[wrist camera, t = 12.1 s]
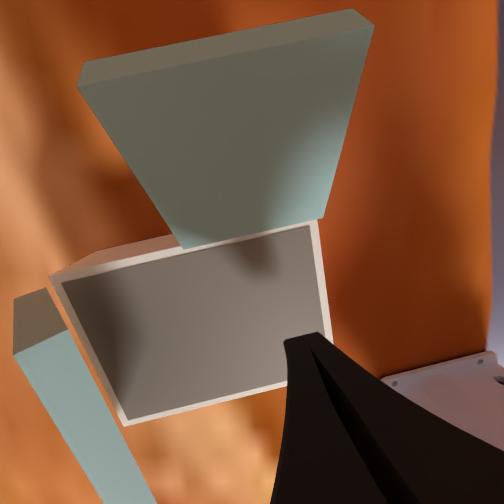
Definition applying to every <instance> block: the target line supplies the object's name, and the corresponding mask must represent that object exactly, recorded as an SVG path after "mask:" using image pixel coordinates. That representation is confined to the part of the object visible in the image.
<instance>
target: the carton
mask: <svg viewBox="0 0 504 504" xmlns="http://www.w3.org/2000/svg"><path fill="white" fill-rule="evenodd" d="M48 277H49V279H50V281H51V283H52V285H53V287H54V289H55V291H56V293H57V295H58V297H59V299H60V301H61V303H62V305H63V307H64V309H65V311H66V313H67V315H68V317H69V319H70V321H71V323H72V325H73V327H74V329H75V331H76V333H77V335H78V337H79V339H80V341H81V343H82V345H83V347H84V349H85V351H86V353H87V355H88V357H89V359H90V361H91V363H92V365H93V367H94V369H95V371H96V373H97V375H98V377H99V379H100V381H101V383H102V385H103V387H104V389H105V390H106V392H107V394H108V396H109V398H110V400H111V402H112V404H113V406H114V408H115V410H116V412H117V414H118V416H119V418H120V420H121V422H122V424H123V426H124V427H125V426H129V425H133V424H137V423H141V422H145V421H149V420H153V419H157V418H161V417H165V416H169V415H173V414H177V413H181V412H185V411H189V410H193V409H197V408H201V407H205V406H209V405H213V404H217V403H221V402H225V401H229V400H233V399H237V398H241V397H245V396H249V395H253V394H257V393H261V392H265V391H269V390H273V389H277V388H281V387H285V386H287V359H286V354H285V349H284V344H283V342H284V341H285V339H289V338H293V337H297V336H301V335H305V334H309V333H313V332H317V331H318V332H319V333H321V334H322V335H323V336H324V337H325V338H326V339H328V340H329V341H330V342H331V343H332V344H333V336H332V329H331V321H330V313H329V306H328V298H327V290H326V283H325V275H324V267H323V260H322V252H321V245H320V237H319V229H318V222H317V219H316V220H311V221H307V222H303V223H298V224H294V225H290V226H285V227H281V228H276V229H272V230H268V231H263V232H259V233H255V234H250V235H246V236H241V237H237V238H233V239H228V240H224V241H220V242H215V243H211V244H206V245H202V246H198V247H193V248H189V249H185V250H183V248H182V247H181V245H180V244H179V242H178V241H177V239H176V238H175V236H174V235H173V234H169V235H165V236H160V237H156V238H151V239H147V240H143V241H138V242H134V243H129V244H125V245H120V246H116V247H112V248H107V249H103V250H98V251H95V252H93V253H92V254H90V255H88V256H86V257H84V258H82V259H80V260H78V261H76V262H74V263H73V264H71V265H69V266H67V267H65V268H63V269H61V270H59V271H57V272H55V273H54V274H52V275H50V276H48ZM333 345H334V344H333Z"/></svg>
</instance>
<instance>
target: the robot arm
mask: <svg viewBox="0 0 504 504" xmlns="http://www.w3.org/2000/svg"><path fill="white" fill-rule="evenodd" d="M283 344H284V349H285V354H286V359H287V398H286V411H285V421H284V429H283V437H282V443H281V450H280V456H279V461H278V467H277V472H276V478H275V483H274V488H273V492H272V497H271V502H270V504H504V368H503V367H502V366H500V365H499V364H497V361H498V355H497V354H496V353H494V352H493V351H485V352H481V353H478V354H474V355H470V356H466V357H462V358H458V359H454V360H450V361H446V362H442V363H438V364H434V365H430V366H426V367H422V368H418V369H414V370H410V371H406V372H402V373H398V374H394V375H391V376H387V377H384V378H382V379H381V380H379V379H378V378H376V377H375V376H374V375H372V374H371V373H369V372H368V371H367V370H365V369H364V368H363V367H361V366H360V365H359V364H357V363H356V362H355V361H353V360H352V359H351V358H349V357H348V356H347V355H346V354H344V353H343V352H342V351H341V350H339V349H338V348H337V347H336V346H335V345H333V344H332V343H331V342H330V341H329V340H328V339H326V338H325V337H324V336H323V335H322V334H321V333H319V332H318V331H317V332H313V333H309V334H305V335H301V336H297V337H293V338H289V339H285V341H284V342H283Z"/></svg>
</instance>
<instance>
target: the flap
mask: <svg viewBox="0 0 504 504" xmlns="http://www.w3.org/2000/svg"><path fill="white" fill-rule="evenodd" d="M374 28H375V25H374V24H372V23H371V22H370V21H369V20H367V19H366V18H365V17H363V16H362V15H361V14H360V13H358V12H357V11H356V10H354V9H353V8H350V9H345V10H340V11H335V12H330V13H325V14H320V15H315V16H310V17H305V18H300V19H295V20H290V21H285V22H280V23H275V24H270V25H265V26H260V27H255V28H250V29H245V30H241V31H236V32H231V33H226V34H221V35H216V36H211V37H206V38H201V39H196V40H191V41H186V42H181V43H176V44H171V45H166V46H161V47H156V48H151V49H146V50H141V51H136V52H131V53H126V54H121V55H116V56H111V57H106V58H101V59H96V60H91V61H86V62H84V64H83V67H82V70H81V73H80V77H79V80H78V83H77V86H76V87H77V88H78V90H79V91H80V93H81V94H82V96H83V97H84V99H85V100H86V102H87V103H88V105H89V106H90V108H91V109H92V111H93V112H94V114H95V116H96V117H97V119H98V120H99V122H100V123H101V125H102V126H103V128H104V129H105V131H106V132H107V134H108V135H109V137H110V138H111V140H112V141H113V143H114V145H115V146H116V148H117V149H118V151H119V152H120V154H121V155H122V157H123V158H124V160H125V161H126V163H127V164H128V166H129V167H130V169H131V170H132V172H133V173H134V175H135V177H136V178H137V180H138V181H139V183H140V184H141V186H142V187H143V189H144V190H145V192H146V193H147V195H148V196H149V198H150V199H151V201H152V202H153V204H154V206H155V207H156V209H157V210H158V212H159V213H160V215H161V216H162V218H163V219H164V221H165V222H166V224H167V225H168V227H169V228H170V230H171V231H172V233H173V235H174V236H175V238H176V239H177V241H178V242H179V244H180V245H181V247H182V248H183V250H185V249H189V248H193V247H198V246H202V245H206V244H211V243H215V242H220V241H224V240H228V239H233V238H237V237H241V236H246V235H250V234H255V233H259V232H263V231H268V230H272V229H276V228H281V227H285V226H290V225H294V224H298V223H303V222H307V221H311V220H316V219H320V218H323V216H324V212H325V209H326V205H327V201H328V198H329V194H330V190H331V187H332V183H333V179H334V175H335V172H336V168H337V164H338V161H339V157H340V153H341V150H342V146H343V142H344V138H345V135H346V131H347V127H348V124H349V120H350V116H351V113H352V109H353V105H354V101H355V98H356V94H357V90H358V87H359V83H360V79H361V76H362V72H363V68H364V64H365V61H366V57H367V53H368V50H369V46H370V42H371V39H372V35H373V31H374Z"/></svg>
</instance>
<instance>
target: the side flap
mask: <svg viewBox="0 0 504 504" xmlns="http://www.w3.org/2000/svg"><path fill="white" fill-rule="evenodd" d="M13 356H14V358H15V359H16V361H17V363H18V364H19V366H20V368H21V369H22V371H23V373H24V374H25V376H26V377H27V379H28V381H29V382H30V384H31V386H32V387H33V389H34V390H35V392H36V394H37V395H38V397H39V399H40V400H41V402H42V404H43V405H44V407H45V408H46V410H47V412H48V413H49V415H50V417H51V418H52V420H53V421H54V423H55V425H56V426H57V428H58V430H59V431H60V433H61V435H62V436H63V438H64V439H65V441H66V443H67V444H68V446H69V448H70V449H71V451H72V452H73V454H74V456H75V457H76V459H77V461H78V462H79V464H80V466H81V467H82V469H83V470H84V472H85V474H86V475H87V477H88V479H89V480H90V482H91V483H92V485H93V487H94V488H95V490H96V492H97V493H98V495H99V497H100V498H101V500H102V501H103V503H104V504H157V503H156V501H155V499H154V497H153V495H152V493H151V491H150V489H149V487H148V485H147V483H146V481H145V479H144V477H143V475H142V473H141V471H140V469H139V467H138V465H137V463H136V462H135V460H134V458H133V456H132V454H131V452H130V450H129V448H128V446H127V444H126V442H125V440H124V438H123V436H122V434H121V432H120V430H119V428H118V426H117V424H116V422H115V420H114V418H113V416H112V414H111V413H110V411H109V409H108V407H107V405H106V403H105V401H104V399H103V397H102V395H101V393H100V391H99V389H98V387H97V385H96V383H95V381H94V379H93V377H92V375H91V373H90V371H89V369H88V367H87V366H86V364H85V362H84V360H83V358H82V356H81V354H80V352H79V350H78V348H77V346H76V344H75V342H74V340H73V338H72V336H71V334H70V332H69V330H68V328H67V326H66V325H65V323H64V321H63V319H62V317H61V315H60V313H59V311H58V309H57V308H56V306H55V304H54V302H53V300H52V298H51V296H50V294H49V292H48V291H47V289H46V288H43V289H40V290H37V291H35V292H32V293H29V294H26V295H24V296H21V297H18V298H15V299H14V319H13Z"/></svg>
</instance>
